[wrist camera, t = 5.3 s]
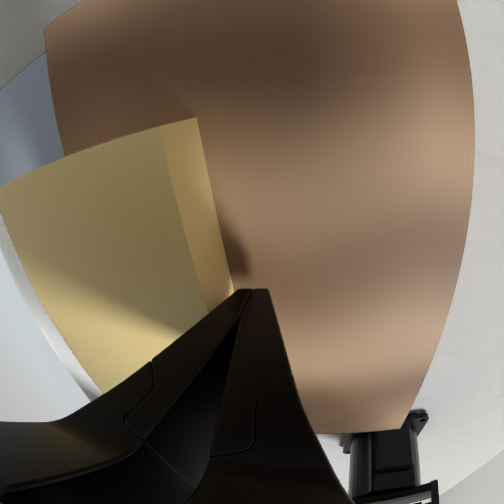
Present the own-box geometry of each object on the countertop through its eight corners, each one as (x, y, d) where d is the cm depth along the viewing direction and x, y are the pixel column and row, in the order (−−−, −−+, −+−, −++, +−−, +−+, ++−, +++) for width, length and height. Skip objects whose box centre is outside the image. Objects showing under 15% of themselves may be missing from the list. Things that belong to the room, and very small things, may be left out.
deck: (393, 373, 15) (400, 428, 12) (206, 372, 18) (187, 421, 15) (400, -19, 6) (435, -58, 3) (109, 34, 9) (44, 27, 6)
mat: (203, 380, 19) (202, 383, 19) (82, 357, 22) (81, 360, 22) (98, 21, 9) (95, 20, 8) (-18, 110, 11) (-21, 110, 11)
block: (256, 381, 11) (246, 422, 10) (120, 364, 13) (102, 393, 11) (196, 117, 7) (159, 126, 5) (32, 170, 8) (-7, 190, 7)
